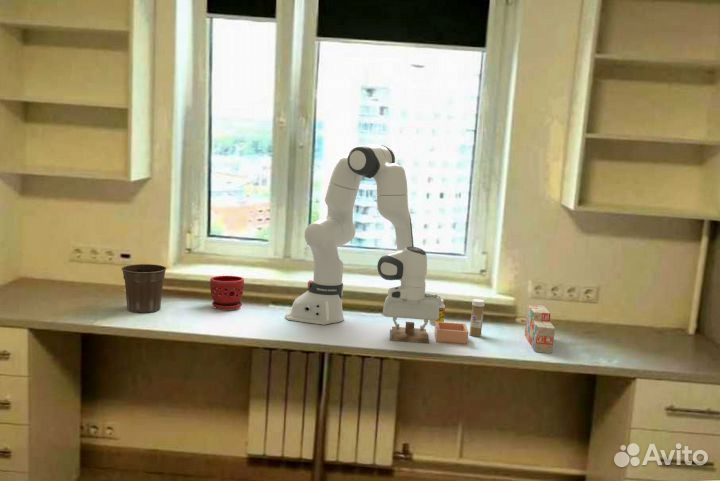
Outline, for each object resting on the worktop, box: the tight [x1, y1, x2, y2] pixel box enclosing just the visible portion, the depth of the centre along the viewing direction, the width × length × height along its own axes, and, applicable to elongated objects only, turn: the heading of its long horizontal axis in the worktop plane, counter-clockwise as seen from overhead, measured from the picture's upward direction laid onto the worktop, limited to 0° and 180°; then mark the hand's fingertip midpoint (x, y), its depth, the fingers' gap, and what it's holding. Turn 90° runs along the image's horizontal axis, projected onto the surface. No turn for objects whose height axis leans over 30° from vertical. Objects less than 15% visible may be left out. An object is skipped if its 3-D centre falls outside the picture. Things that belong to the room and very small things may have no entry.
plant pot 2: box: [209, 275, 245, 311], centre depth 278 cm, size 13×13×12 cm
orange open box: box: [434, 321, 469, 346], centre depth 255 cm, size 11×11×5 cm
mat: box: [389, 329, 430, 345], centre depth 255 cm, size 14×14×1 cm
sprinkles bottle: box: [468, 298, 486, 338], centre depth 263 cm, size 5×5×14 cm
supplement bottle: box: [428, 298, 446, 327], centre depth 273 cm, size 6×6×10 cm
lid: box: [391, 321, 428, 344], centre depth 254 cm, size 12×12×5 cm
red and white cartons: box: [524, 304, 556, 354], centre depth 257 cm, size 21×6×12 cm, turn 177°
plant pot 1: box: [121, 263, 167, 314], centre depth 267 cm, size 16×16×16 cm
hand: (409, 330), depth 254 cm, fingers open, 8 cm apart
